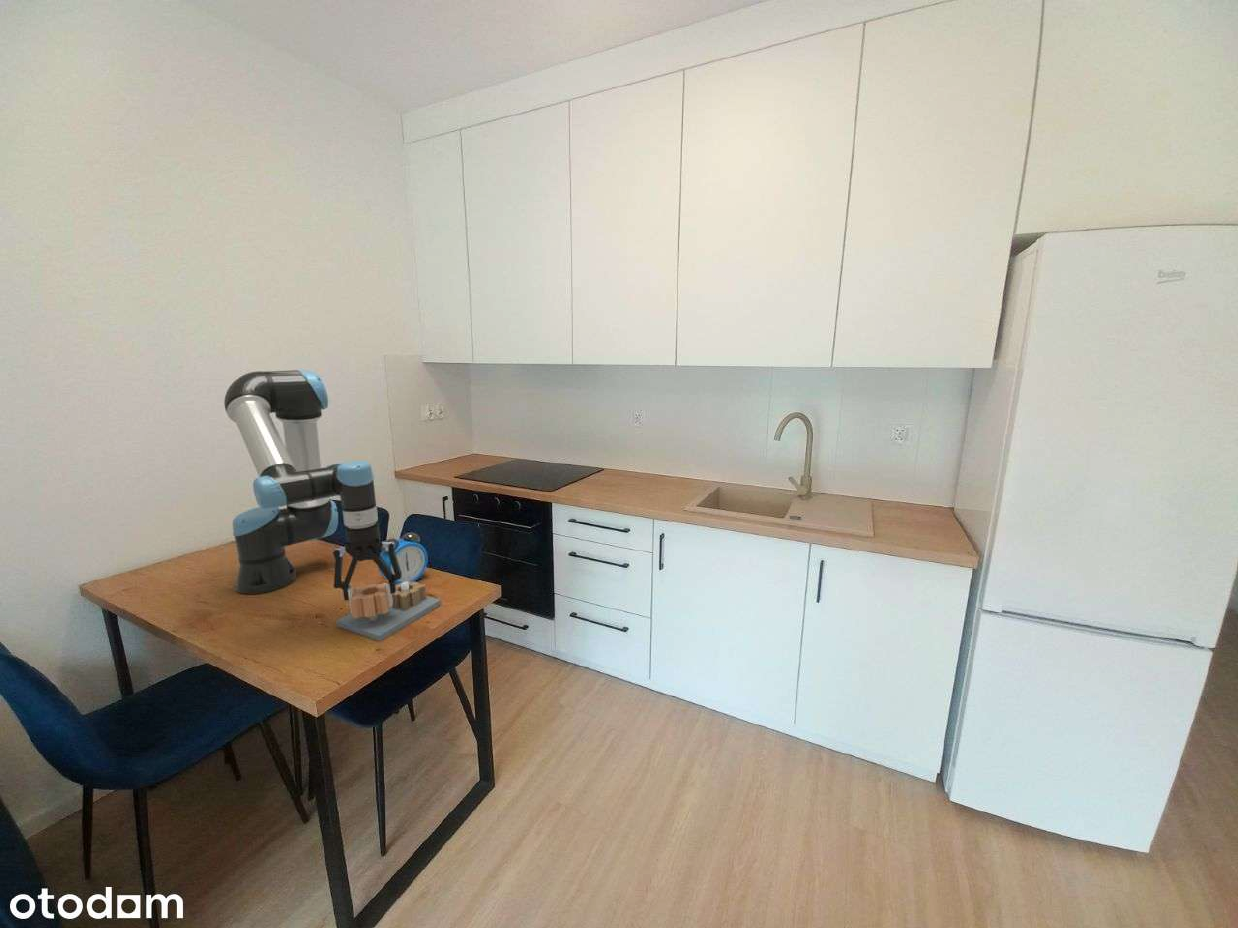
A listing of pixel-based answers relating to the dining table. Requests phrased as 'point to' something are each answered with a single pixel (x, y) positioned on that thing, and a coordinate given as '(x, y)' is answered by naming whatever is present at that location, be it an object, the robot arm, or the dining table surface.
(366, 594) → the loose gear
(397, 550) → the alarm clock
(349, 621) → the gear board
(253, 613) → the dining table surface
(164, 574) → the dining table surface
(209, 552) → the dining table surface
